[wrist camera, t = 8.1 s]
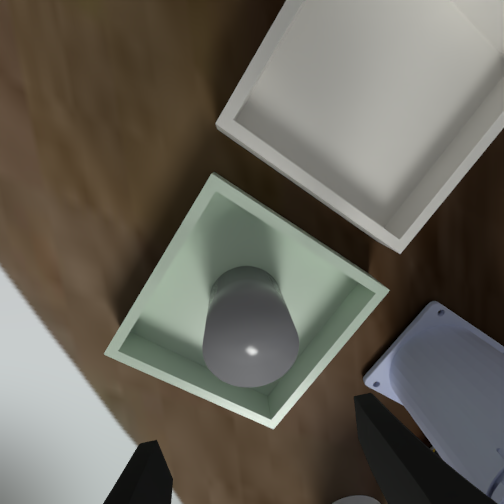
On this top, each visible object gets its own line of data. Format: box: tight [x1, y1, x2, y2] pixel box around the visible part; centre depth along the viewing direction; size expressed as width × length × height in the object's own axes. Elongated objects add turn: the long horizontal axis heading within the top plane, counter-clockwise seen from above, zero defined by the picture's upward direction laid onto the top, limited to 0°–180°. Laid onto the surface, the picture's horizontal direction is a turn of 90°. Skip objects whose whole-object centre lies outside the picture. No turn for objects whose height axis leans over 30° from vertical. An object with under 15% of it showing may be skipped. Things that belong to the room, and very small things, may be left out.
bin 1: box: [215, 0, 504, 254], centre depth 14 cm, size 12×12×3 cm
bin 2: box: [104, 172, 390, 429], centre depth 18 cm, size 12×12×3 cm
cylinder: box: [202, 266, 299, 388], centre depth 16 cm, size 5×5×5 cm
